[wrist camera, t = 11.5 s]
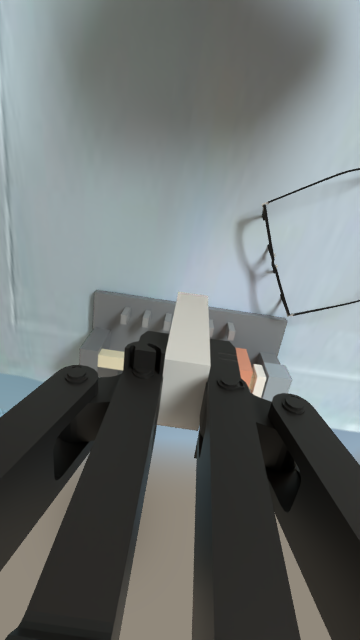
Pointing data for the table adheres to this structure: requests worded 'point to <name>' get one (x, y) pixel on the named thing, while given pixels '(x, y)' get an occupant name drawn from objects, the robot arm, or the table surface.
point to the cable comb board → (156, 315)
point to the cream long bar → (262, 382)
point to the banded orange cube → (244, 365)
